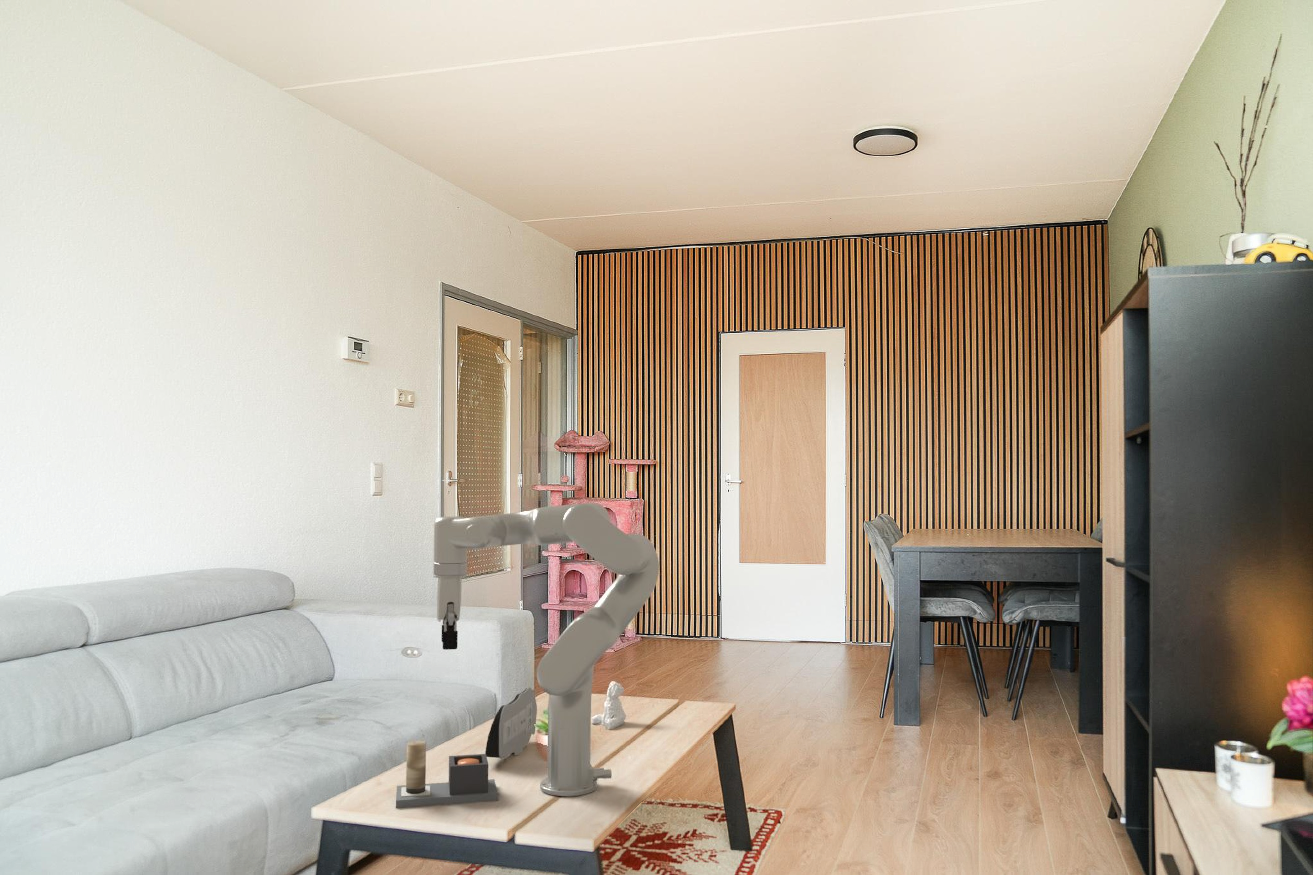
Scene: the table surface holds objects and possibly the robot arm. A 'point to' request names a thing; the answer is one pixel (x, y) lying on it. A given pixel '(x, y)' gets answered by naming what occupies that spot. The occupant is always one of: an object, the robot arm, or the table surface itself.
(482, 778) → the board
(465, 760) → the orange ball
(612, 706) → the white creature statuette
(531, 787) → the table surface
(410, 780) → the beige wooden cylinder
